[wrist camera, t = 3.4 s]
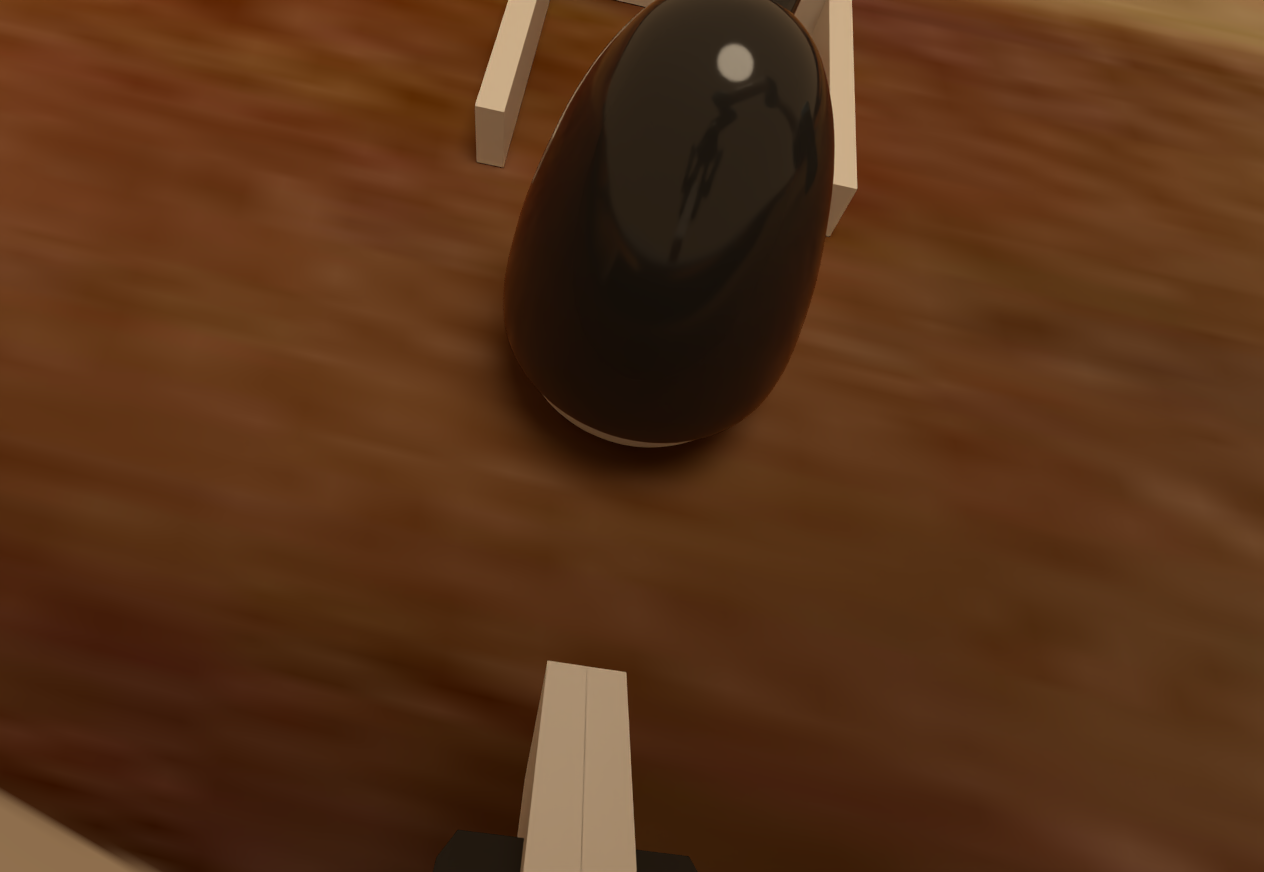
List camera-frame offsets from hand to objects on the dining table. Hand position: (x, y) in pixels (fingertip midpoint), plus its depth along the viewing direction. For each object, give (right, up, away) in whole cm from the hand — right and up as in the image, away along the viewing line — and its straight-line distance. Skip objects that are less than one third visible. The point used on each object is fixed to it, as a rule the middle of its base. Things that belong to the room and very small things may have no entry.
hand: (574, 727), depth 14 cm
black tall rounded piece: (+1, +8, +16) cm, 18 cm away
